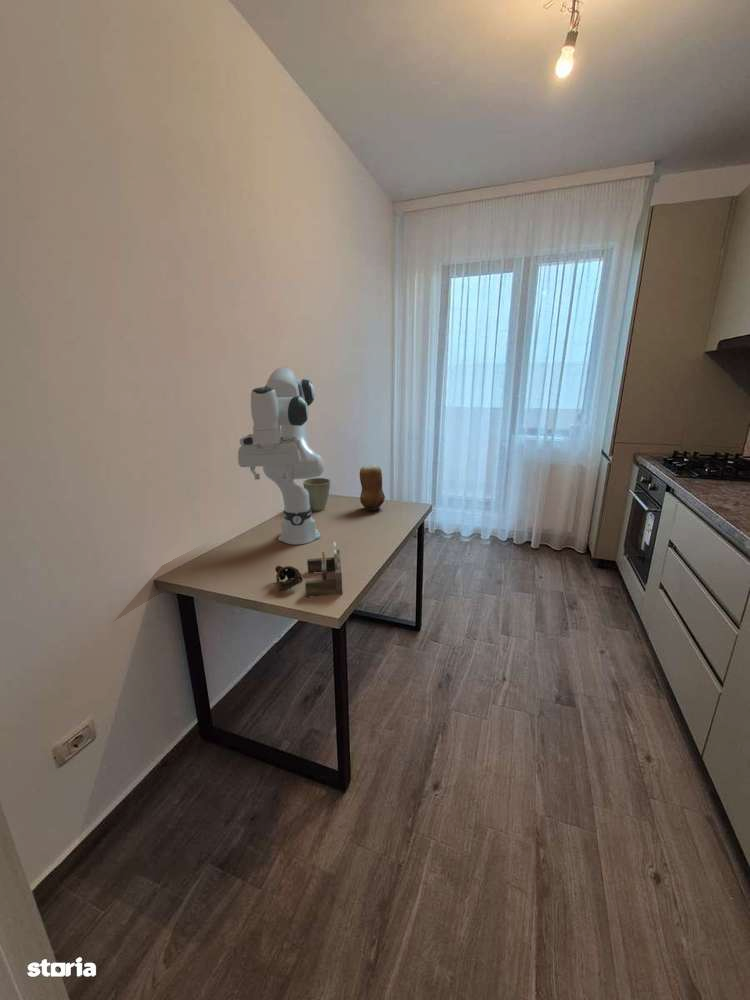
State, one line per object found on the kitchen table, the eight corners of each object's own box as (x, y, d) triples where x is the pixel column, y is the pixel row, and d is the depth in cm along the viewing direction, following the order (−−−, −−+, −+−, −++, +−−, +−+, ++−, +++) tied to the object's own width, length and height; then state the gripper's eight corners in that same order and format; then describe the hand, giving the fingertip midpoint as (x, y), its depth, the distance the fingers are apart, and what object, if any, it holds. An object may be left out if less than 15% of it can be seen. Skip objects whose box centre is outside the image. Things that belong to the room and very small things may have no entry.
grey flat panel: (322, 574, 147) (321, 546, 143) (327, 573, 147) (325, 546, 144) (322, 587, 137) (321, 558, 134) (327, 587, 137) (325, 558, 134)
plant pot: (303, 513, 215) (301, 485, 211) (306, 505, 230) (304, 478, 225) (331, 512, 216) (330, 484, 212) (332, 504, 231) (330, 477, 226)
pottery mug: (310, 583, 143) (305, 570, 137) (292, 603, 138) (286, 591, 132) (286, 567, 148) (280, 554, 142) (268, 586, 143) (261, 574, 137)
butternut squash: (363, 505, 227) (361, 462, 220) (386, 506, 225) (385, 462, 218) (358, 513, 214) (356, 467, 207) (382, 514, 212) (382, 468, 204)
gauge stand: (308, 571, 150) (305, 539, 147) (340, 568, 152) (338, 536, 148) (306, 597, 132) (303, 561, 129) (342, 594, 134) (340, 558, 130)
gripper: (299, 435, 137) (302, 475, 141) (238, 438, 135) (243, 478, 138) (298, 437, 131) (301, 479, 135) (234, 440, 129) (239, 482, 132)
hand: (271, 478), depth 136 cm, fingers open, 8 cm apart
